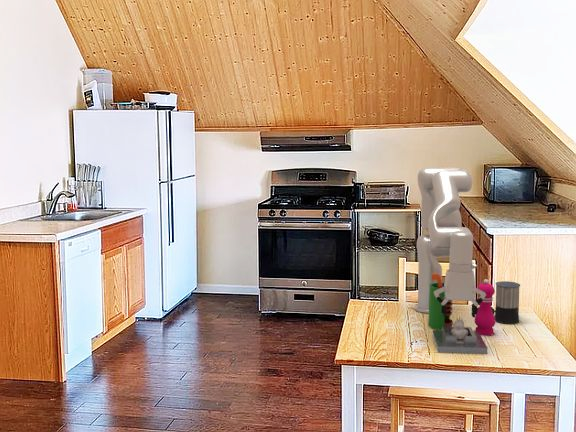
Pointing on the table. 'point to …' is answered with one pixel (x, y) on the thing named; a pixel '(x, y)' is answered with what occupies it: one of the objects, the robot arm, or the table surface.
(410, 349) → the table surface
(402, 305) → the table surface
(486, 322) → the pepper mill
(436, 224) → the robot arm
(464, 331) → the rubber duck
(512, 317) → the milk frother
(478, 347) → the plate
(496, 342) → the table surface
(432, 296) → the green round disc holder
